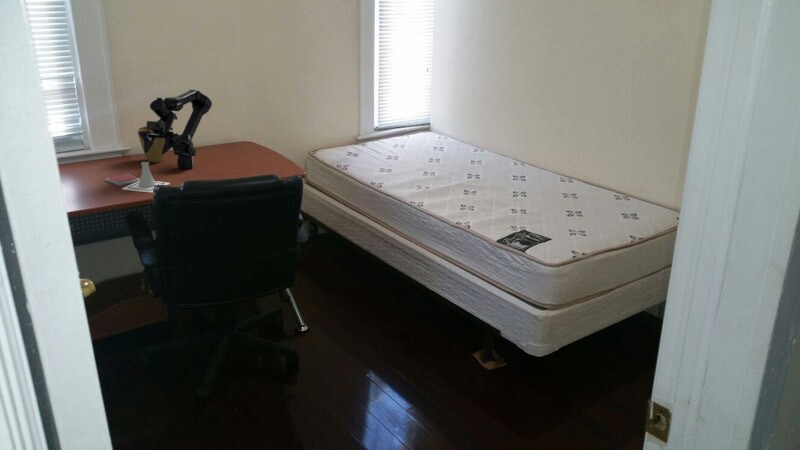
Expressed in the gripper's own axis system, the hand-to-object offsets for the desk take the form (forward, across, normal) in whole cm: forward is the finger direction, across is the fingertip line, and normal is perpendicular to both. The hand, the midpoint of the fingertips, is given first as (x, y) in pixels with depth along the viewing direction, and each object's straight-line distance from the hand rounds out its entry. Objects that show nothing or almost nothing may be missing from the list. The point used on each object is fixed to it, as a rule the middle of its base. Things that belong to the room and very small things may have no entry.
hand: (153, 153), depth 280 cm
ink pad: (+13, -14, +3) cm, 19 cm away
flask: (+14, 0, +2) cm, 15 cm away
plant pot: (-10, -23, +28) cm, 38 cm away
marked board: (+15, 0, +2) cm, 15 cm away
